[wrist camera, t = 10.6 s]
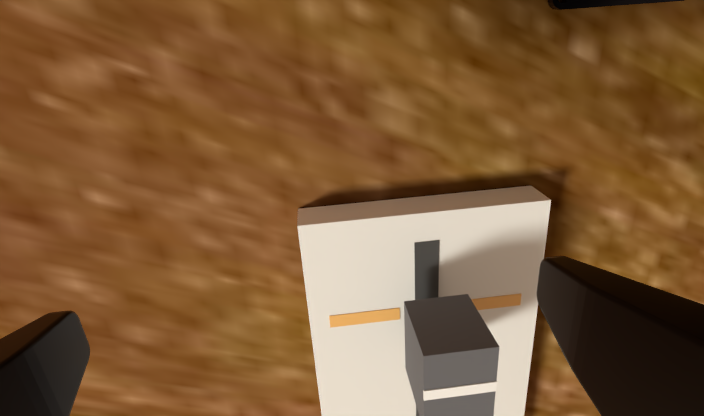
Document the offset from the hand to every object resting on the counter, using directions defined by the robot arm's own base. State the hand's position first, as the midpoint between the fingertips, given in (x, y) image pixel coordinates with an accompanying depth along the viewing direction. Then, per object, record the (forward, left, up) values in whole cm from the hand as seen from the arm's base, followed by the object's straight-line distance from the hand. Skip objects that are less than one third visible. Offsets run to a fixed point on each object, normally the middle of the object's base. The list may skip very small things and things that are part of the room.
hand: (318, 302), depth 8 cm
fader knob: (-5, +9, -11) cm, 15 cm away
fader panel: (-5, +14, -13) cm, 20 cm away
